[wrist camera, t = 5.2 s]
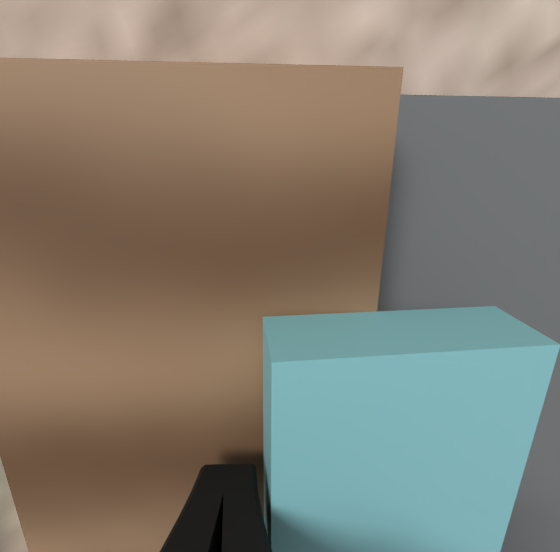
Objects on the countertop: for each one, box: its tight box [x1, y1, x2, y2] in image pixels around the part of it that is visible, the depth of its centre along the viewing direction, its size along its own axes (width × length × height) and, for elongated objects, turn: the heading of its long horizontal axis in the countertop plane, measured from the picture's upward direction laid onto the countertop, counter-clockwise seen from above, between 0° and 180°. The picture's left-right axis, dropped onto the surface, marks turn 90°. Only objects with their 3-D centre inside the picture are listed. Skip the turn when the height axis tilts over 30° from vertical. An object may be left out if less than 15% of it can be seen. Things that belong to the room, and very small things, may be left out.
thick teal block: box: [263, 306, 560, 552], centre depth 10 cm, size 9×6×2 cm, turn 0°
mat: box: [377, 95, 560, 552], centre depth 14 cm, size 20×12×1 cm, turn 179°
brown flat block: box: [0, 58, 403, 552], centre depth 12 cm, size 20×10×4 cm, turn 179°
